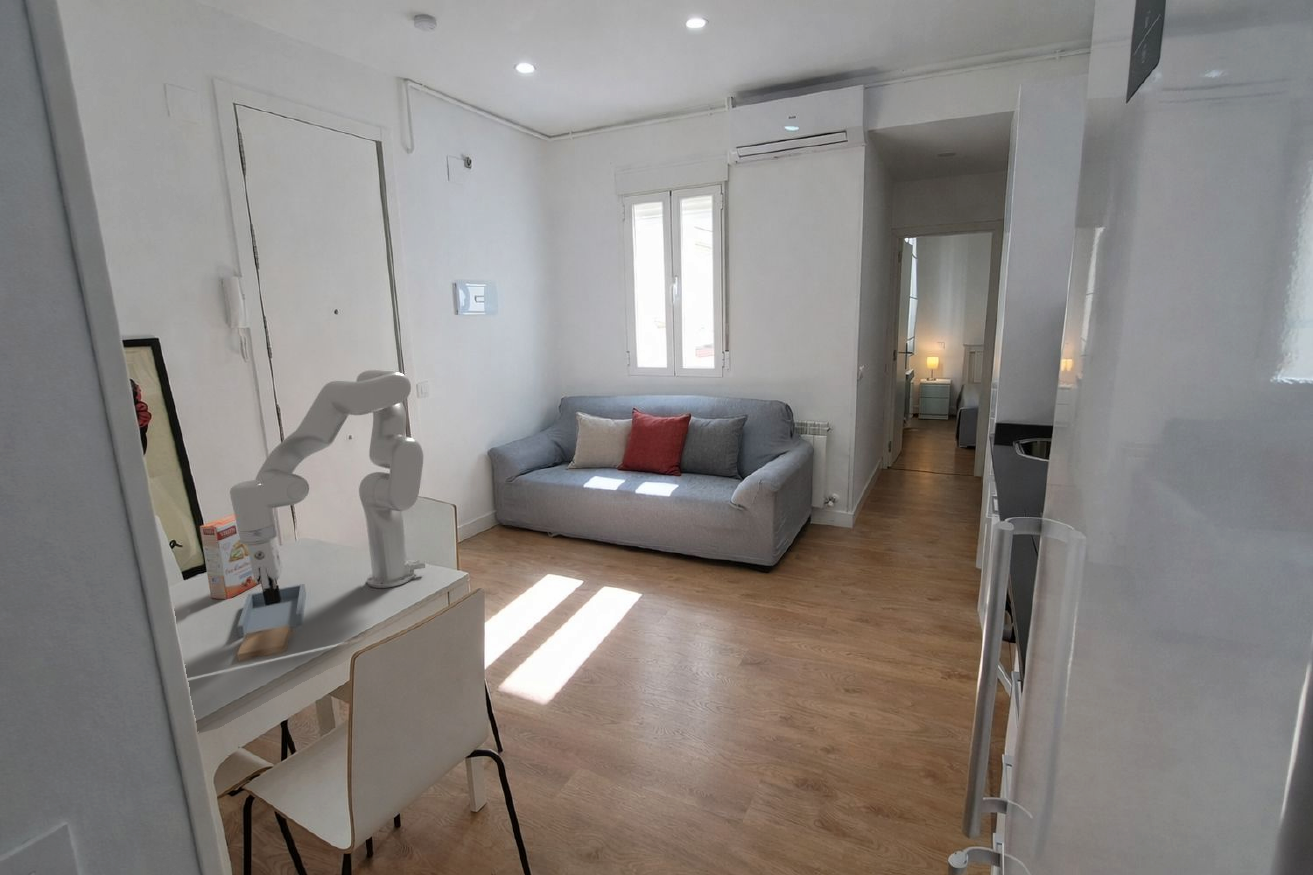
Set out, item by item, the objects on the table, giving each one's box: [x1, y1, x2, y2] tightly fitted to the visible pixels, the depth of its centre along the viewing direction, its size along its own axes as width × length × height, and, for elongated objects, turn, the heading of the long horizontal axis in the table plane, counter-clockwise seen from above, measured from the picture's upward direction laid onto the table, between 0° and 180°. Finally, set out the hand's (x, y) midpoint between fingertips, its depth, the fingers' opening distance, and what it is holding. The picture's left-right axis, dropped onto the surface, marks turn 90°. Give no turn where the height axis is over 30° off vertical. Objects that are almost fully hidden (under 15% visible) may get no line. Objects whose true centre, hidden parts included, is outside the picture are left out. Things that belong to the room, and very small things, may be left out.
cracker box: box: [199, 513, 261, 600], centre depth 169 cm, size 14×6×21 cm, turn 168°
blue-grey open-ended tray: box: [236, 583, 307, 639], centre depth 155 cm, size 13×19×4 cm
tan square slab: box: [236, 625, 292, 662], centre depth 141 cm, size 9×10×2 cm
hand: (273, 602), depth 149 cm, fingers closed
